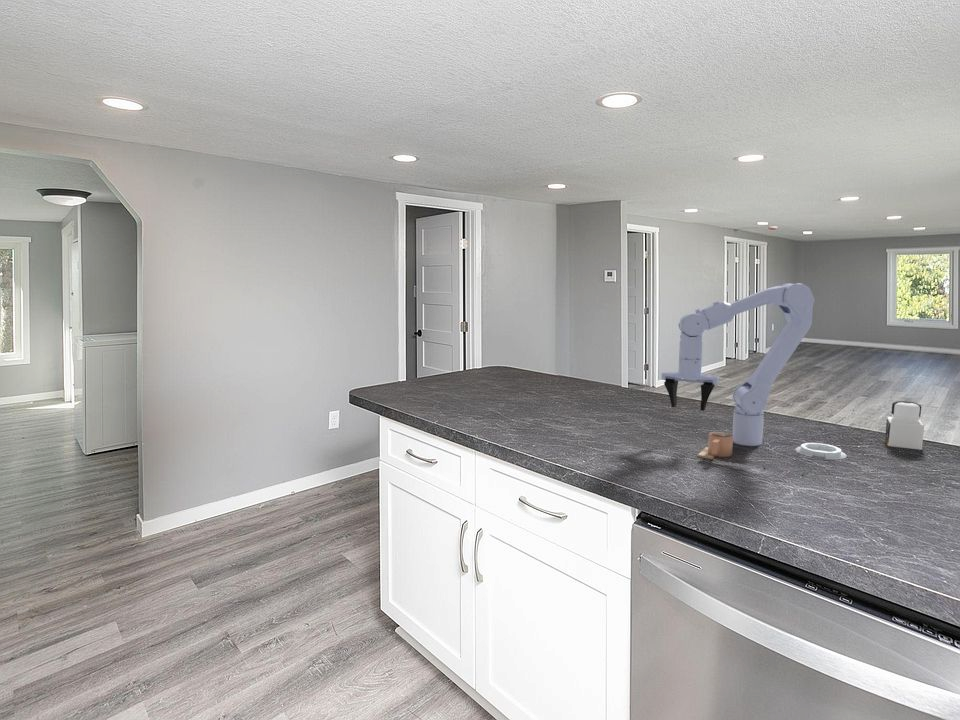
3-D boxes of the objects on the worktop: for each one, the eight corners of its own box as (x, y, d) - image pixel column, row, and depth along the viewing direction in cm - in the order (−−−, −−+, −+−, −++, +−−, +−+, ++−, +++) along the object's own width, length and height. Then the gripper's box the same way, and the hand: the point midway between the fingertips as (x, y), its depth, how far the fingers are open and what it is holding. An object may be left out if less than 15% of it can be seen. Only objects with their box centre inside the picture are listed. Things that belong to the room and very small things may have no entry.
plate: (797, 446, 149) (798, 439, 149) (847, 453, 143) (848, 445, 143) (792, 457, 141) (793, 449, 140) (844, 465, 134) (845, 457, 134)
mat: (705, 448, 148) (705, 447, 148) (738, 454, 144) (738, 452, 143) (697, 456, 142) (697, 454, 142) (731, 462, 137) (732, 460, 137)
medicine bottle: (884, 441, 153) (888, 398, 151) (917, 445, 149) (922, 401, 148) (887, 448, 147) (891, 403, 145) (921, 452, 143) (926, 406, 142)
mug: (711, 449, 146) (712, 430, 145) (734, 453, 143) (735, 433, 142) (701, 458, 139) (702, 438, 138) (726, 462, 135) (727, 442, 135)
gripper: (722, 358, 151) (719, 408, 153) (667, 355, 159) (665, 402, 161) (716, 361, 145) (713, 413, 147) (659, 357, 153) (657, 406, 155)
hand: (688, 408), depth 154 cm, fingers open, 7 cm apart
